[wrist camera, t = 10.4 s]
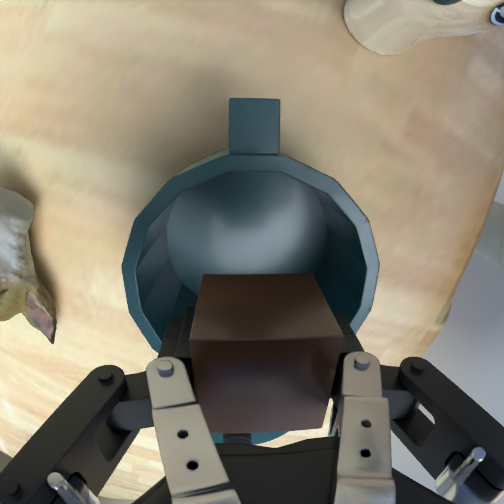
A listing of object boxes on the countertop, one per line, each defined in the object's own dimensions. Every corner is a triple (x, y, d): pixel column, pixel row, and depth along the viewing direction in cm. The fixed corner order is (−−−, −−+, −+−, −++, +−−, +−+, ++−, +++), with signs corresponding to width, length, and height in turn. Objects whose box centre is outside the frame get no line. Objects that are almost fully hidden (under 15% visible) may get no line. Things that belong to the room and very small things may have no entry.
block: (312, 272, 13) (344, 334, 9) (302, 357, 15) (322, 428, 11) (202, 273, 13) (189, 339, 9) (208, 359, 15) (201, 433, 10)
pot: (341, 115, 21) (395, 109, 13) (321, 338, 28) (347, 406, 20) (153, 113, 21) (109, 104, 13) (170, 340, 27) (152, 410, 19)
